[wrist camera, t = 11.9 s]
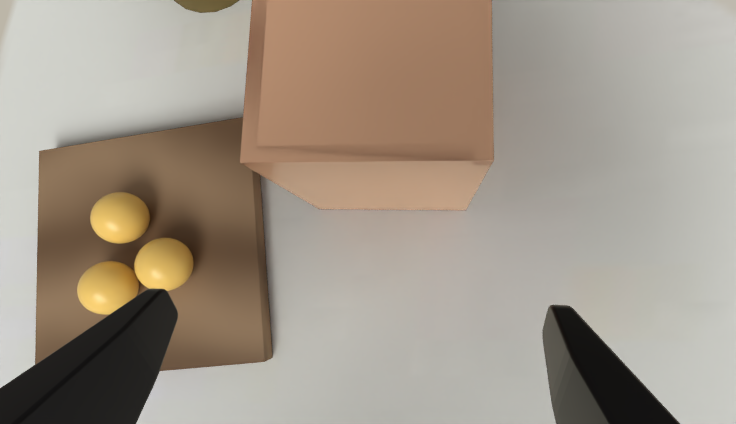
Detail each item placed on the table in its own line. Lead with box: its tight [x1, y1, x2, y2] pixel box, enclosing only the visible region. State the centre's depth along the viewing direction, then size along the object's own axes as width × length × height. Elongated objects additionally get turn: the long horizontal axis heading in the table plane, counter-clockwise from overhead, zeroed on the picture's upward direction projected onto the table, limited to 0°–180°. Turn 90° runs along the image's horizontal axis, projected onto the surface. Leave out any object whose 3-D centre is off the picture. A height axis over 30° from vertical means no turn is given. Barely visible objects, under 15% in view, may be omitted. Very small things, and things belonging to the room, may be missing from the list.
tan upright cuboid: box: [240, 0, 494, 210], centre depth 17 cm, size 7×7×9 cm
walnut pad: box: [35, 117, 272, 371], centre depth 22 cm, size 12×12×1 cm
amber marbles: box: [77, 192, 194, 315], centre depth 20 cm, size 6×6×2 cm
